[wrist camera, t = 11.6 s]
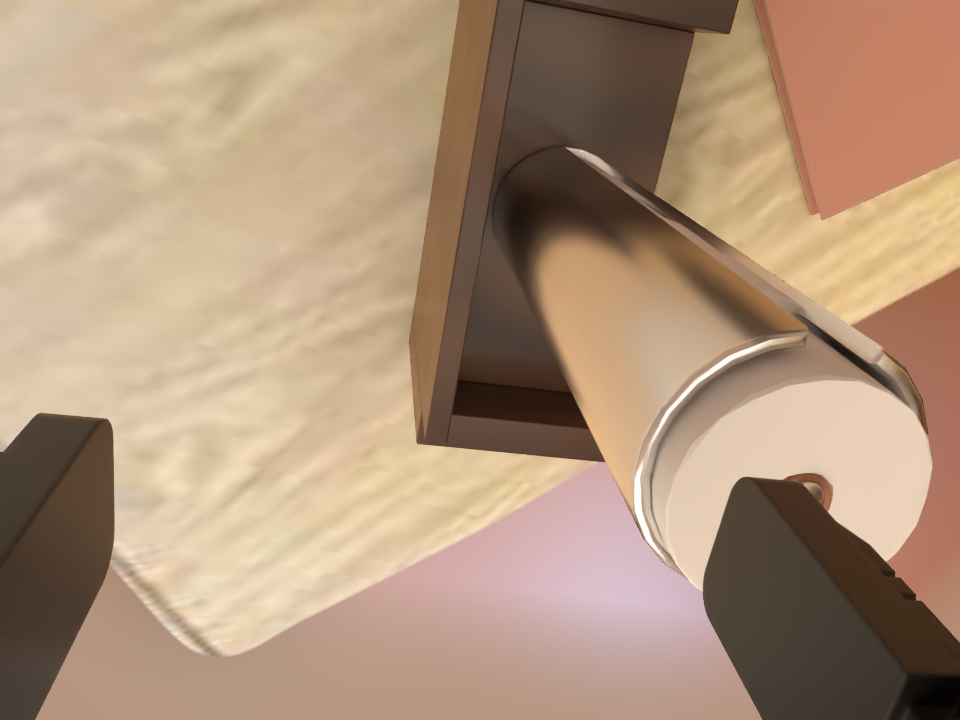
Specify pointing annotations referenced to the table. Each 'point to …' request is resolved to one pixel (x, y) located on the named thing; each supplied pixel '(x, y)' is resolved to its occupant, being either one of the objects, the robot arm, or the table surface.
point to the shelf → (484, 166)
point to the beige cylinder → (705, 364)
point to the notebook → (865, 92)
